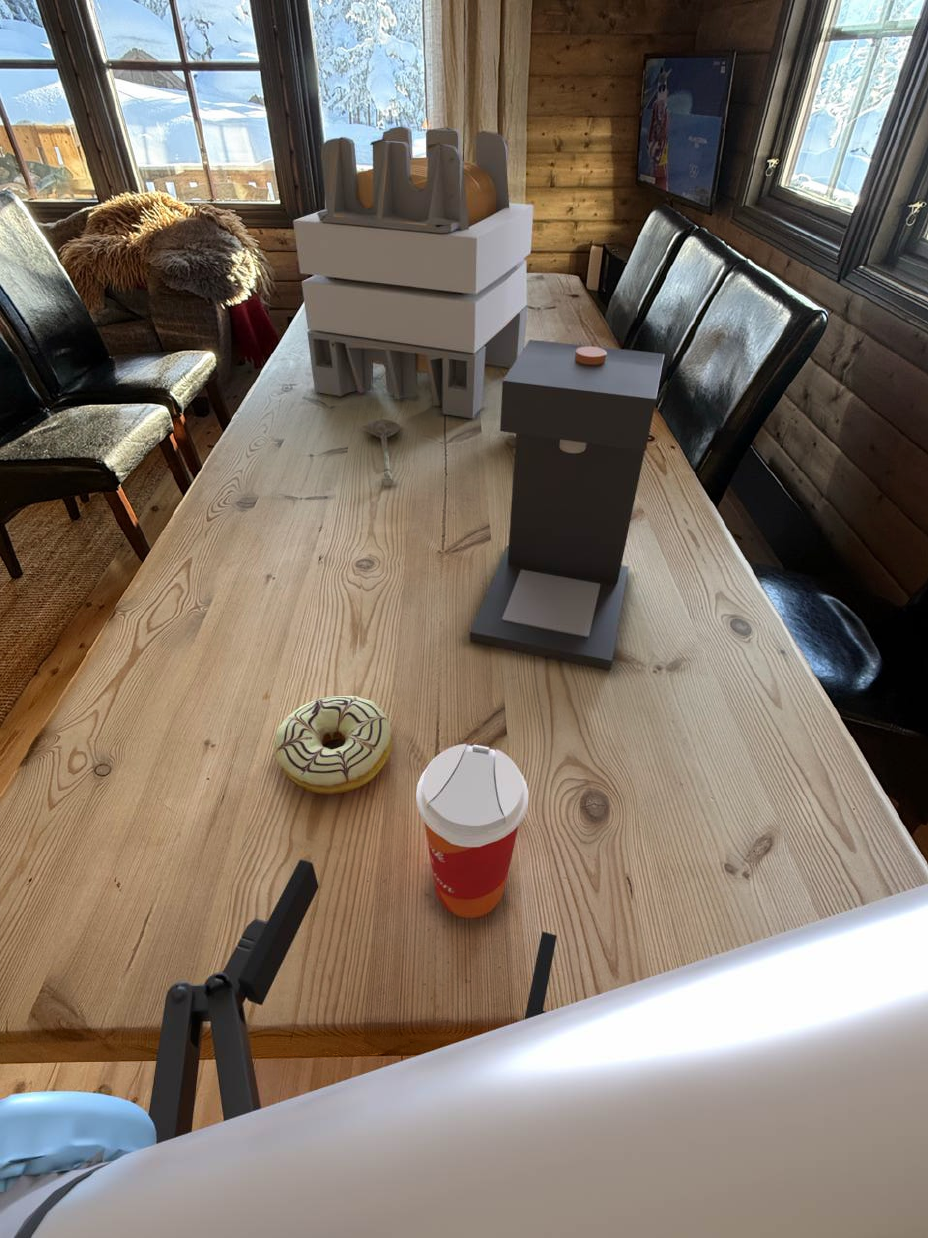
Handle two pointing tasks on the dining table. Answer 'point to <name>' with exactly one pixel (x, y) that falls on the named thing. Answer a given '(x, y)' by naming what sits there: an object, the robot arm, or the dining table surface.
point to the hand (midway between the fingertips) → (424, 906)
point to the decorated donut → (329, 721)
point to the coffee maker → (569, 499)
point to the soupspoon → (383, 441)
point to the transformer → (415, 268)
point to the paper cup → (471, 824)
